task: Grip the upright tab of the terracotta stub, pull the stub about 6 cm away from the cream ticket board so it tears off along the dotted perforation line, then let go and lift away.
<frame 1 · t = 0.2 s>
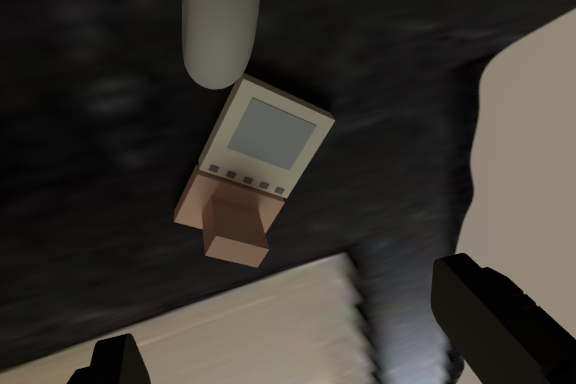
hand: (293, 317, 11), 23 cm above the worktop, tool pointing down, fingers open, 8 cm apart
ticket: (264, 136, 33), on the worktop
stub: (232, 224, 33), point 3 cm above the worktop, slide at 0.0 cm
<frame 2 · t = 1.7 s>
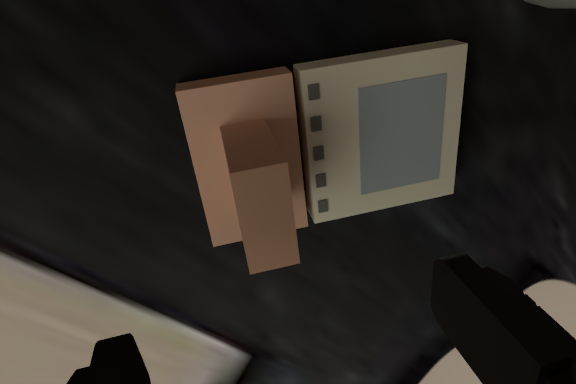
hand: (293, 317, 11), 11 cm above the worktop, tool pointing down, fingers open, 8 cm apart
ticket: (374, 129, 22), on the worktop
stub: (254, 183, 18), point 3 cm above the worktop, slide at 0.0 cm
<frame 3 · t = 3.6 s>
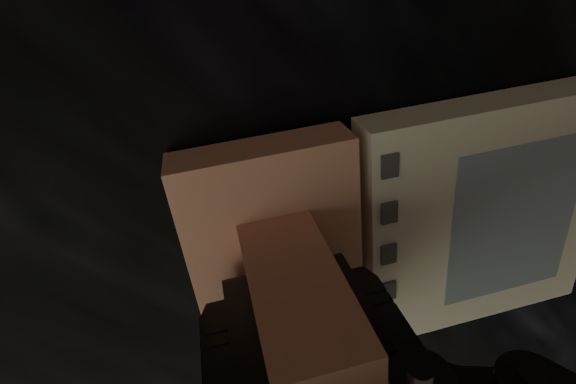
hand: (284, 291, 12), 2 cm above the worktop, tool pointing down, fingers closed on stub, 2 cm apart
ticket: (462, 206, 14), on the worktop
stub: (296, 324, 11), point 3 cm above the worktop, slide at 0.0 cm, touching gripper
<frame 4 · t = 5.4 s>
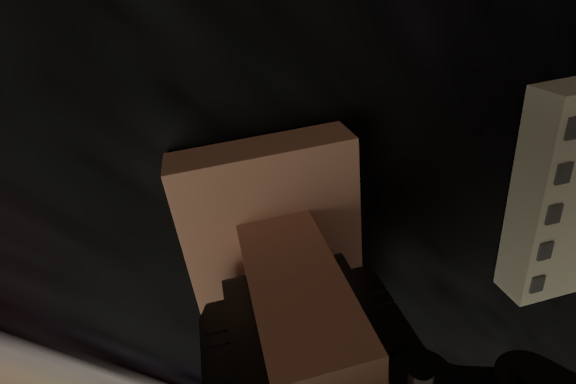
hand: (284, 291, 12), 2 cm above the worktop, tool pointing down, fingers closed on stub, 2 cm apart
stub: (296, 324, 11), point 3 cm above the worktop, slide at 5.8 cm, touching gripper
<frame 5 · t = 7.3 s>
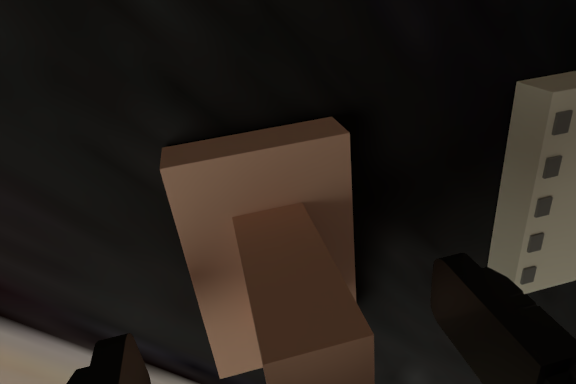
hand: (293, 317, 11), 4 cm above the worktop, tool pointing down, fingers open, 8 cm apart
stub: (290, 311, 11), point 3 cm above the worktop, slide at 5.9 cm
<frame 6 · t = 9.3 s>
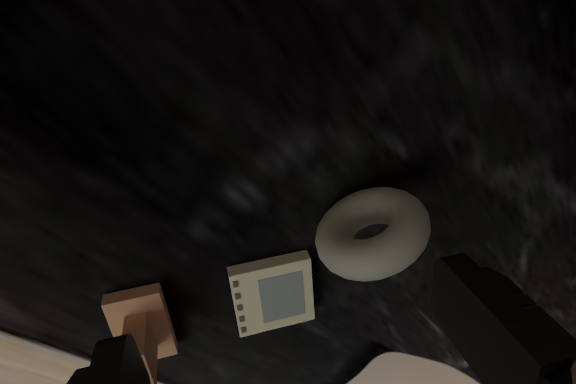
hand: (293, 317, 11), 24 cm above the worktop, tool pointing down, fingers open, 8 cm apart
ticket: (271, 289, 42), on the worktop
donut: (348, 202, 40), on the worktop
stub: (140, 345, 37), point 3 cm above the worktop, slide at 5.9 cm
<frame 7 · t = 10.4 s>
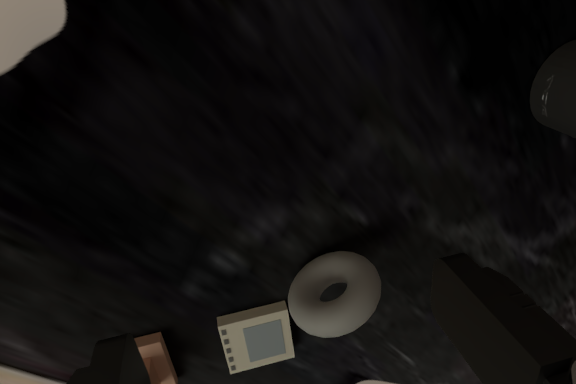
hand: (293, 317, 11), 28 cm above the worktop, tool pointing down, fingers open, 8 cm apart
ticket: (256, 333, 49), on the worktop
donut: (318, 261, 47), on the worktop
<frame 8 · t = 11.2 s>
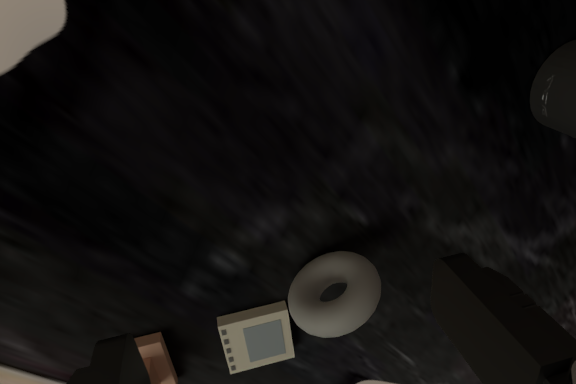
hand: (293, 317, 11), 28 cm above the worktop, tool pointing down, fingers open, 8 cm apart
ticket: (256, 333, 49), on the worktop
donut: (318, 261, 47), on the worktop
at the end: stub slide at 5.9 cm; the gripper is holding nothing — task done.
